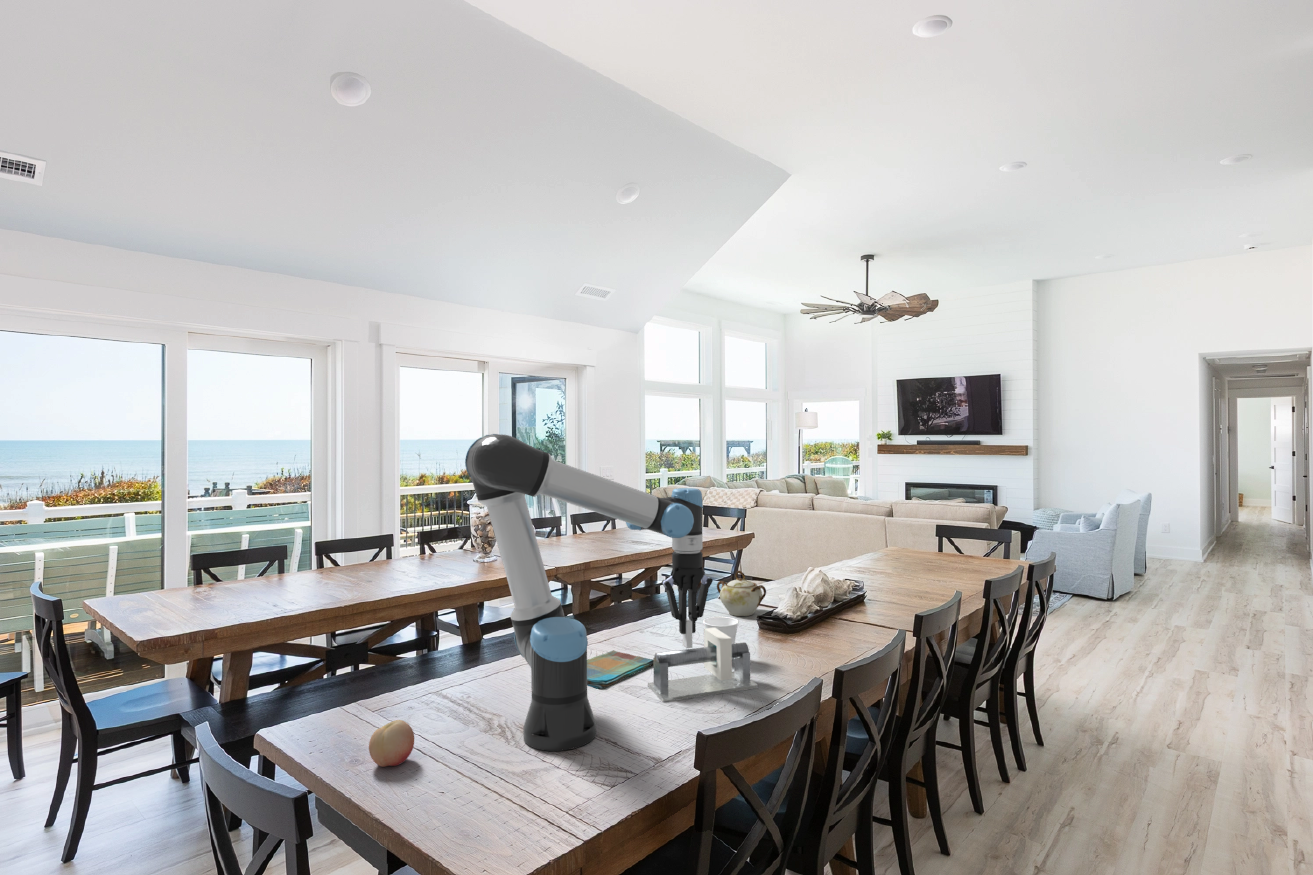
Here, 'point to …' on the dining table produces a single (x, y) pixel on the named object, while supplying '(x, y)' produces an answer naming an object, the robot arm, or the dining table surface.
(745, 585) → the sugar bowl
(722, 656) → the collar
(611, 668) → the dish towel
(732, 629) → the cup
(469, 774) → the dining table surface
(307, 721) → the dining table surface
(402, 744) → the fruit
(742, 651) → the pipe rig
